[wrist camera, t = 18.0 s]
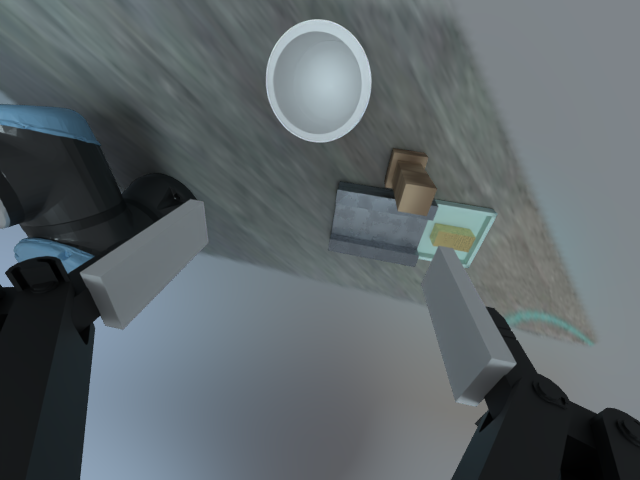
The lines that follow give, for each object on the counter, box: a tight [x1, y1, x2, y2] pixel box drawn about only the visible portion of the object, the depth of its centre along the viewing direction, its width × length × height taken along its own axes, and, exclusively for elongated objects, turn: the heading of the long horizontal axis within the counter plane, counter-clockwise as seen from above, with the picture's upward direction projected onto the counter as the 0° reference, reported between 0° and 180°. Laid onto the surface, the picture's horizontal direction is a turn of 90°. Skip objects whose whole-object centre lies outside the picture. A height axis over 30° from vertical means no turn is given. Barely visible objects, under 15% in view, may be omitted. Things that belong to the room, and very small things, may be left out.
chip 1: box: [430, 223, 457, 248], centre depth 45 cm, size 3×3×3 cm
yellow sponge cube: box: [451, 226, 476, 252], centre depth 44 cm, size 3×3×3 cm
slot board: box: [328, 181, 438, 267], centre depth 45 cm, size 16×12×4 cm
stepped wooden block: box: [384, 148, 437, 216], centre depth 36 cm, size 5×6×14 cm
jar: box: [266, 19, 372, 142], centre depth 31 cm, size 11×10×15 cm
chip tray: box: [417, 199, 497, 268], centre depth 45 cm, size 10×11×2 cm
